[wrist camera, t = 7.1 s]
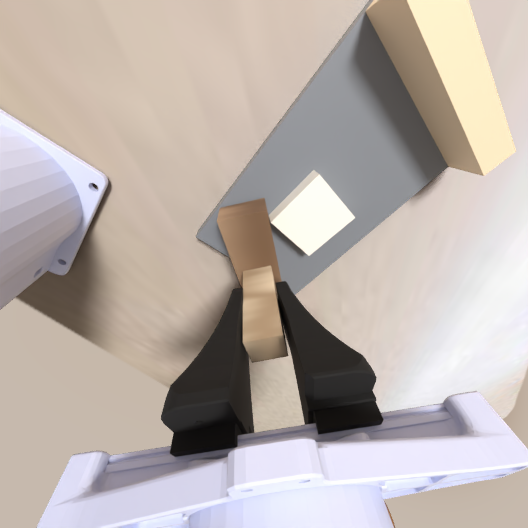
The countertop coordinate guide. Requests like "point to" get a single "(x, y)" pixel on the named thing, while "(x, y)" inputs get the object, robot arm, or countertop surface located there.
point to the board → (378, 125)
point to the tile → (311, 214)
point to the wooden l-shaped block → (255, 276)
